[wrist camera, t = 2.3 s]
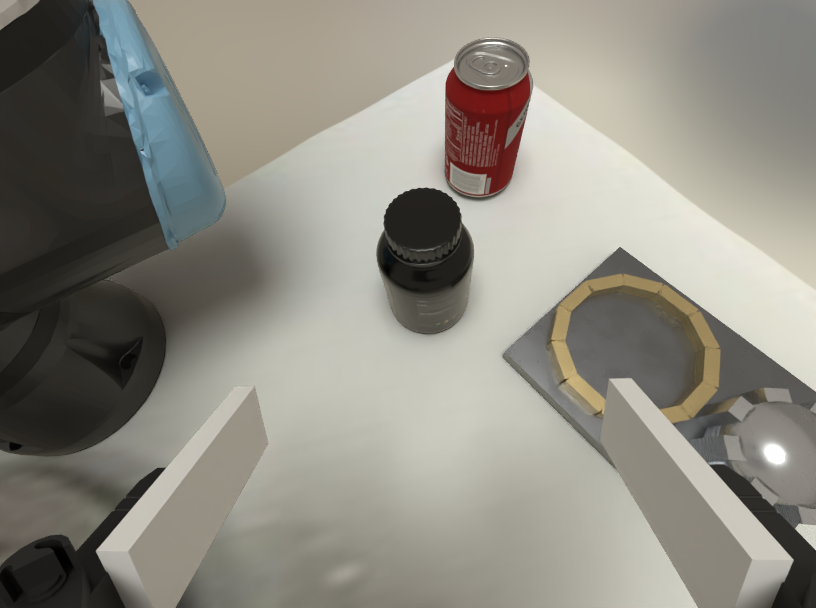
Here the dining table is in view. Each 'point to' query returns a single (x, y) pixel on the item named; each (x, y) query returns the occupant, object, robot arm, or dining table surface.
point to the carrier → (676, 379)
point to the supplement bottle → (425, 260)
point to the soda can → (485, 115)
